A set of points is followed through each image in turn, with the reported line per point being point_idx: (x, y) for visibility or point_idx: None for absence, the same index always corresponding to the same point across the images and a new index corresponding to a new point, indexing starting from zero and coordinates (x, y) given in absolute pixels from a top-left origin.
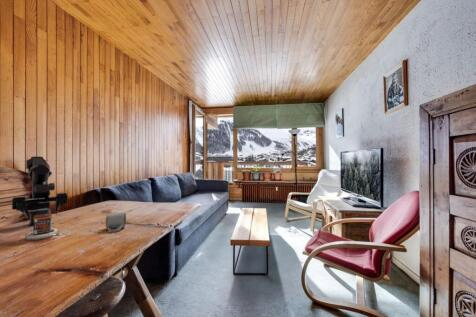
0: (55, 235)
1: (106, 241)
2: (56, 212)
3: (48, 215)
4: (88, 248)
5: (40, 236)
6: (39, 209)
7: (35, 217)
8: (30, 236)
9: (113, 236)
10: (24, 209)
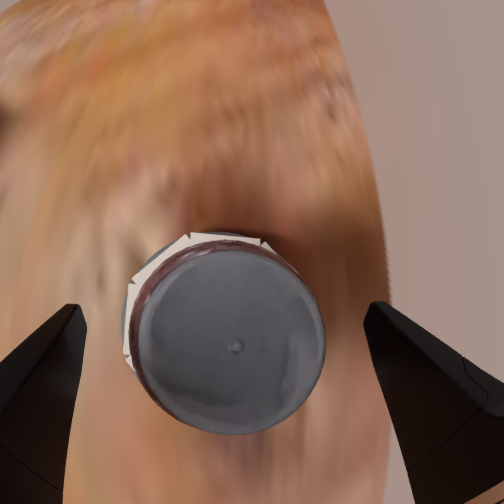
0: (149, 261)
1: (61, 27)
2: (68, 305)
3: (169, 257)
4: (127, 3)
5: (236, 237)
6: (292, 347)
7: (307, 286)
8: None
9: (16, 60)
10: (472, 367)
